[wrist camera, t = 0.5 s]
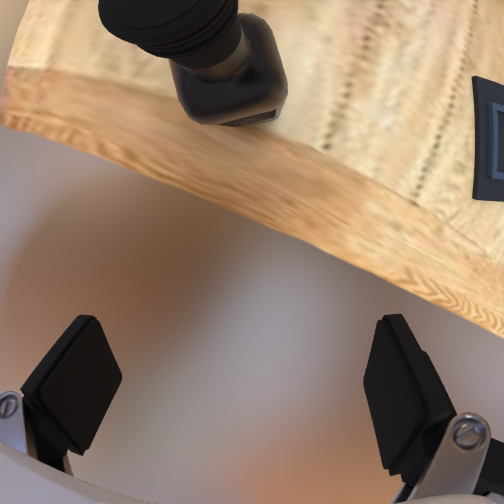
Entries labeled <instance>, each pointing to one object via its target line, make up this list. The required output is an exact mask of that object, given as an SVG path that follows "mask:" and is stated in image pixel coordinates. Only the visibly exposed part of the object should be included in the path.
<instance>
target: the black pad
mask: <svg viewBox="0 0 504 504" xmlns="http://www.w3.org/2000/svg"><path fill="white" fill-rule="evenodd" d="M472 82H473V93H474V106H475V173H474V187H473V198H474V199H476V200H485V201H502V202H504V85H501V84H499V83H496V82H493V81H490V80H487V79H484V78H481V77H478V76H473V77H472Z"/></svg>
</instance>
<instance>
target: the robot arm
mask: <svg viewBox="0 0 504 504" xmlns="http://www.w3.org/2000/svg"><path fill="white" fill-rule="evenodd" d="M121 381H122V373H121V371H120V369H119V367H118V364H117V362H116V360H115V358H114V355H113V353H112V351H111V348H110V346H109V344H108V342H107V339H106V336H105V334H104V332H103V329H102V327H101V324H100V322H99V321H98V320H97V319H96V318H95V317H94V316H91V315H79V316H77V318H76V319H75V320H74V321H73V322H72V323H71V325H70V326H69V327H68V328H67V330H66V331H65V332H64V333H63V334H62V335H61V337H60V338H59V339H58V340H57V341H56V343H55V344H54V345H53V346H52V348H51V349H50V350H49V352H48V353H47V354H46V355H45V357H44V358H43V359H42V360H41V362H40V363H39V365H38V366H37V367H36V368H35V370H34V371H33V372H32V374H31V375H30V376H29V378H28V379H27V380H26V382H25V383H24V384H23V386H22V387H21V388H20V390H21V391H22V393H23V394H24V397H23V398H22V397H21V396H20V394H19V393H17V392H15V391H8V392H5V393H3V394H1V395H0V504H156V503H152V502H148V501H144V500H140V499H136V498H133V497H129V496H126V495H123V494H119V493H116V492H113V491H110V490H107V489H104V488H101V487H98V486H96V485H93V484H90V483H88V482H85V481H82V480H80V479H77V478H75V477H74V476H73V473H72V470H71V466H70V463H69V460H68V456H67V451H68V449H69V450H70V451H71V452H73V453H76V454H79V455H81V456H83V454H84V452H85V450H87V449H89V447H90V445H91V443H92V441H93V439H94V437H95V434H96V432H97V430H98V428H99V426H100V424H101V422H102V420H103V418H104V416H105V414H106V411H107V410H108V407H109V405H110V403H111V401H112V399H113V397H114V395H115V393H116V391H117V389H118V387H119V385H120V383H121ZM363 384H364V390H365V394H366V397H367V401H368V405H369V409H370V413H371V417H372V421H373V425H374V429H375V434H376V438H377V442H378V447H379V451H380V455H381V461H382V465H383V468H384V469H388V470H389V474H390V476H393V475H397V474H401V478H402V482H404V483H403V485H402V487H401V488H400V490H399V491H398V493H397V495H396V496H395V498H394V499H393V501H392V502H391V504H504V443H503V442H500V441H498V440H495V439H493V438H491V431H490V427H489V425H488V423H487V421H486V420H484V418H482V417H481V416H479V415H477V414H475V413H469V412H468V413H461V414H459V415H457V413H456V411H455V409H454V407H453V404H452V402H451V400H450V398H449V396H448V394H447V392H446V390H445V387H444V385H443V384H442V382H441V379H440V377H439V375H438V373H437V371H436V369H435V368H434V366H433V364H432V362H431V360H430V358H429V356H428V355H427V353H426V352H425V351H422V350H421V348H420V346H419V344H418V343H417V341H416V338H415V337H414V335H413V333H412V331H411V329H410V328H409V326H408V324H407V322H406V320H405V319H404V317H403V315H402V314H391V315H384V316H383V318H382V320H378V322H377V325H376V330H375V334H374V339H373V343H372V347H371V351H370V356H369V360H368V363H367V367H366V371H365V375H364V380H363Z"/></svg>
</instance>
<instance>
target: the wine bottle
mask: <svg viewBox="0 0 504 504" xmlns="http://www.w3.org/2000/svg"><path fill="white" fill-rule="evenodd" d="M98 11H99V17H100V19H101V22H102V24H103V26H104V27H105V28H106V29H107V30H108V31H109V32H110V33H111V34H113V35H115V36H116V37H118V38H120V39H122V40H124V41H127V42H129V43H132V44H136V45H137V46H138V47H140V48H141V49H143V50H144V51H146V52H148V53H150V54H152V55H155V56H157V57H162V58H168V59H169V63H170V67H171V71H172V75H173V79H174V83H175V87H176V91H177V95H178V99H179V102H180V103H181V105H182V107H183V108H184V110H185V112H186V113H187V115H188V117H189V118H191V119H192V120H194V121H196V122H198V123H199V124H204V125H218V126H230V127H247V126H251V125H255V124H259V123H263V122H268V121H272V120H274V119H276V118H277V117H278V116H279V114H280V112H281V109H282V107H283V104H284V102H285V100H286V97H287V95H288V83H287V78H286V75H285V71H284V68H283V64H282V61H281V58H280V54H279V51H278V48H277V45H276V41H275V38H274V35H273V32H272V29H271V28H270V26H269V25H268V24H267V22H266V21H265V20H264V19H262V18H260V17H258V16H256V15H254V14H248V13H237V12H238V0H99V4H98Z"/></svg>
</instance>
